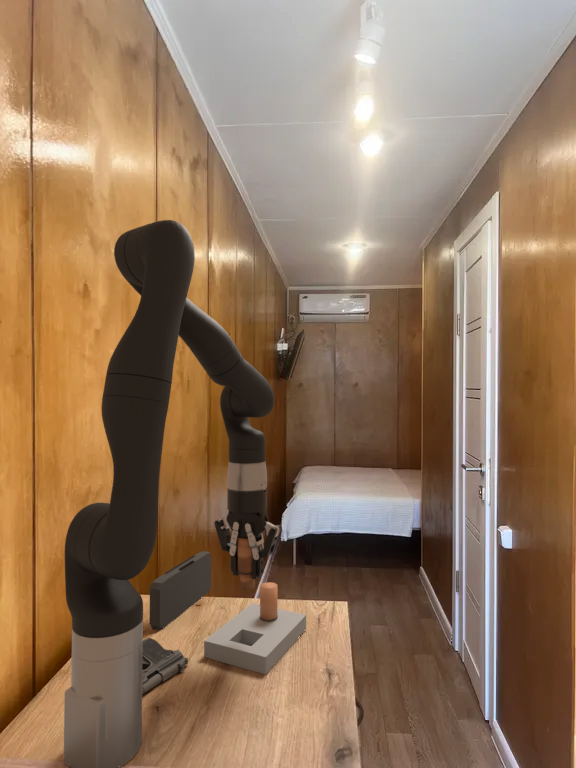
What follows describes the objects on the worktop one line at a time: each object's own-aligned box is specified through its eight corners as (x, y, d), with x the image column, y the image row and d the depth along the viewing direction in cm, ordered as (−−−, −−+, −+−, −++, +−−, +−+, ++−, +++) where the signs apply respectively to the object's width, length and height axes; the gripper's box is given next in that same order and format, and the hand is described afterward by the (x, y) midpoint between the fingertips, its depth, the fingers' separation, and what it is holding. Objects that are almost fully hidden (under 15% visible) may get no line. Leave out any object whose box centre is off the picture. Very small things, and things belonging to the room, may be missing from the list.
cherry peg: (250, 592, 88) (250, 540, 89) (233, 589, 90) (233, 538, 90) (260, 585, 92) (260, 535, 92) (243, 582, 93) (243, 533, 94)
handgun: (69, 680, 79) (118, 703, 72) (149, 635, 93) (196, 651, 87) (69, 695, 79) (118, 720, 72) (149, 648, 93) (196, 665, 87)
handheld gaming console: (202, 588, 121) (202, 549, 121) (211, 590, 120) (212, 550, 120) (147, 630, 99) (148, 582, 100) (158, 632, 98) (159, 583, 99)
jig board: (265, 674, 84) (266, 619, 84) (204, 657, 89) (204, 605, 89) (306, 629, 100) (306, 583, 100) (252, 616, 105) (252, 573, 106)
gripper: (204, 485, 91) (204, 576, 90) (271, 492, 85) (271, 590, 84) (226, 479, 98) (226, 564, 97) (289, 484, 92) (289, 575, 91)
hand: (247, 575), depth 91 cm, fingers closed on cherry peg, 3 cm apart
